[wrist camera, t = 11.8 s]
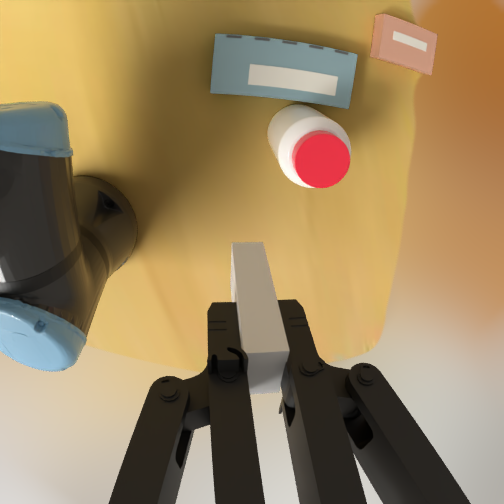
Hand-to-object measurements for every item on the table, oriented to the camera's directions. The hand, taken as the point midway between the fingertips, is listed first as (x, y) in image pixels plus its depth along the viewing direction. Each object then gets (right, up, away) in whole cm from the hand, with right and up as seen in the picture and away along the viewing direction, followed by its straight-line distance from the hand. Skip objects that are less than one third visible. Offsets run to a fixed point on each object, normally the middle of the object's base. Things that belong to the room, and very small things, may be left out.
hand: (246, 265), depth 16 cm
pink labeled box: (+19, +27, +15) cm, 36 cm away
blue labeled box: (+4, +22, +17) cm, 28 cm away
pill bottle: (+6, +15, +22) cm, 27 cm away
